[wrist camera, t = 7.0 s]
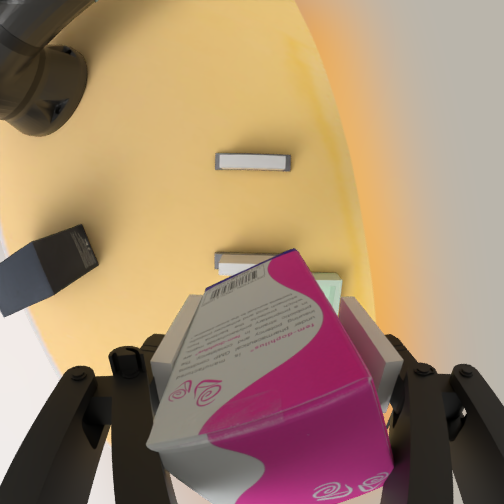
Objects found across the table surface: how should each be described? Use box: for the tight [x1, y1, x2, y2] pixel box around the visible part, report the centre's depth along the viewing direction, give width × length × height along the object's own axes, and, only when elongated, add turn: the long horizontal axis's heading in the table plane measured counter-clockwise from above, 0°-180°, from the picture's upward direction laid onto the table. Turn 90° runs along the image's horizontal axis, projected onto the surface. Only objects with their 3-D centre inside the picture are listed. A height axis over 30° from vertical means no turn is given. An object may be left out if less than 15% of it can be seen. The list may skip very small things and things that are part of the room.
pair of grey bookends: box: [215, 153, 291, 275], centre depth 34 cm, size 14×9×5 cm, turn 179°
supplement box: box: [146, 248, 394, 504], centre depth 11 cm, size 6×6×12 cm
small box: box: [0, 224, 99, 317], centre depth 32 cm, size 13×7×12 cm, turn 110°
